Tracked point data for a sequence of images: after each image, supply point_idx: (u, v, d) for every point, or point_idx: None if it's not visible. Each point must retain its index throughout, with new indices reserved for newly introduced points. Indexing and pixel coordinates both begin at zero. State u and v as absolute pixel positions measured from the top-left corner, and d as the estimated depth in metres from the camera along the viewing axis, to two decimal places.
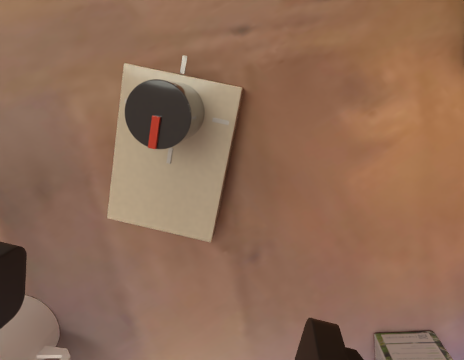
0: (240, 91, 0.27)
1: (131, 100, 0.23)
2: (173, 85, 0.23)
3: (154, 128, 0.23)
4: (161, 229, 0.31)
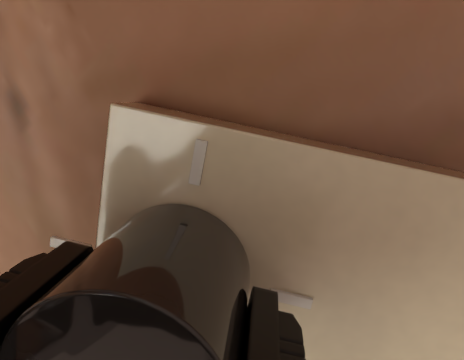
0: (120, 107, 0.10)
1: None
2: (6, 338, 0.06)
3: None
4: None
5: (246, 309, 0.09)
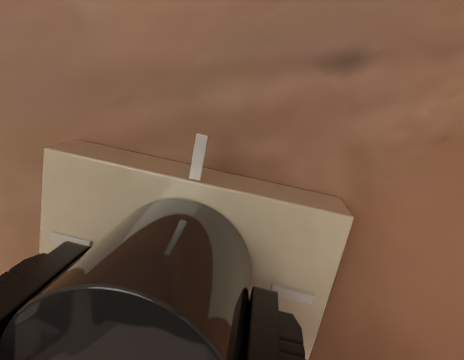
0: (349, 226, 0.10)
1: None
2: (3, 338, 0.06)
3: None
4: None
5: (247, 301, 0.09)
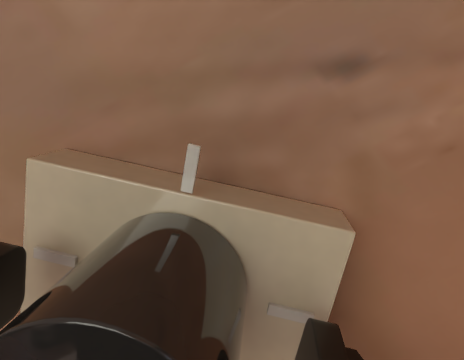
0: (350, 242, 0.10)
1: None
2: None
3: None
4: None
5: (242, 325, 0.08)
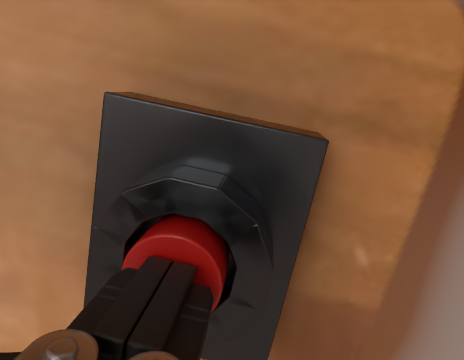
0: None
1: None
2: None
3: None
4: None
5: None
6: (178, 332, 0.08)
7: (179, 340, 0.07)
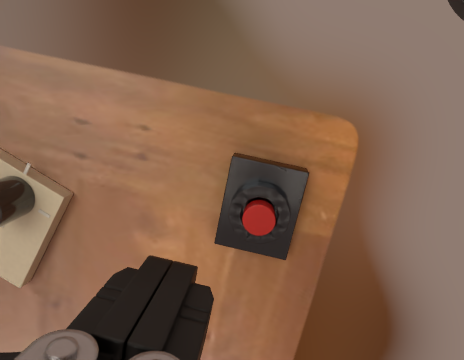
0: (62, 199, 0.38)
1: None
2: None
3: None
4: None
5: (23, 207, 0.37)
6: (178, 332, 0.08)
7: (179, 340, 0.07)
